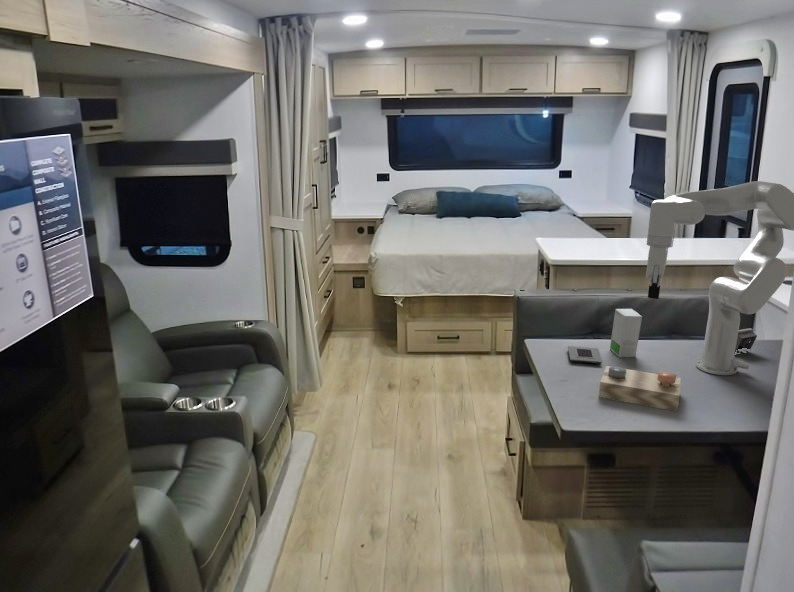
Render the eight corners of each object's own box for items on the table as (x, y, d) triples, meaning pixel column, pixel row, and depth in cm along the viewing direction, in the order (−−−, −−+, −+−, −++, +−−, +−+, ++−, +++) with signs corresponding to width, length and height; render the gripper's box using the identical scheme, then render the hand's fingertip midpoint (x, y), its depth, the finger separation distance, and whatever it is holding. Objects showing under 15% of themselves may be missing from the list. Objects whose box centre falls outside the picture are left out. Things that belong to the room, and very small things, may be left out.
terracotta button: (673, 393, 194) (676, 373, 192) (672, 399, 190) (675, 379, 188) (655, 390, 196) (658, 370, 194) (654, 396, 192) (657, 376, 190)
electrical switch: (741, 349, 236) (747, 325, 232) (753, 355, 231) (760, 331, 228) (722, 352, 232) (728, 329, 229) (734, 358, 228) (741, 335, 224)
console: (678, 392, 198) (680, 377, 196) (677, 411, 186) (679, 395, 184) (604, 380, 206) (606, 365, 205) (598, 397, 194) (600, 381, 193)
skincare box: (609, 349, 233) (614, 308, 229) (626, 348, 234) (631, 308, 230) (619, 357, 225) (624, 315, 221) (637, 357, 226) (642, 315, 222)
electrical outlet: (601, 367, 218) (602, 360, 217) (569, 364, 220) (570, 358, 219) (597, 353, 230) (598, 347, 230) (567, 351, 232) (568, 345, 231)
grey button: (624, 387, 200) (626, 368, 198) (622, 393, 195) (625, 373, 194) (607, 384, 202) (610, 365, 200) (605, 390, 197) (608, 371, 196)
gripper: (648, 235, 205) (642, 290, 210) (645, 244, 192) (638, 302, 197) (674, 237, 202) (666, 293, 207) (672, 246, 189) (665, 305, 194)
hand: (653, 297), depth 202 cm, fingers closed
